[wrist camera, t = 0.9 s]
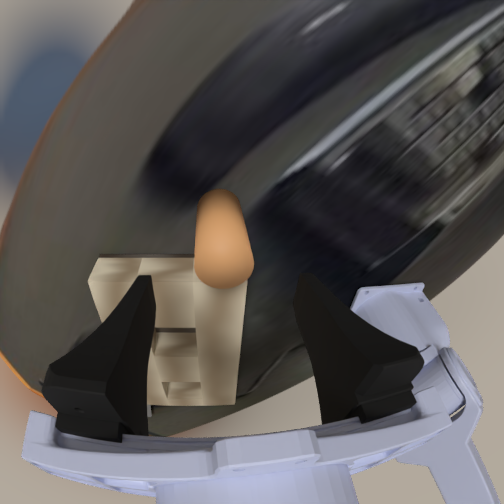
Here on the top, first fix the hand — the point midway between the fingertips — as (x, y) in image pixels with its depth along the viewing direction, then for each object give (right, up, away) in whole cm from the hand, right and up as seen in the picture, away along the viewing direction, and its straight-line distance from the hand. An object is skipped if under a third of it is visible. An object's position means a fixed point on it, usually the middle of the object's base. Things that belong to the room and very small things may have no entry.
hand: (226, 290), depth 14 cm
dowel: (-1, +5, +7) cm, 9 cm away
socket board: (-6, -7, +14) cm, 17 cm away
